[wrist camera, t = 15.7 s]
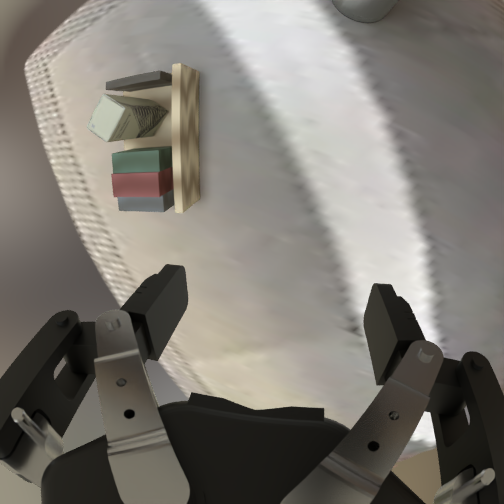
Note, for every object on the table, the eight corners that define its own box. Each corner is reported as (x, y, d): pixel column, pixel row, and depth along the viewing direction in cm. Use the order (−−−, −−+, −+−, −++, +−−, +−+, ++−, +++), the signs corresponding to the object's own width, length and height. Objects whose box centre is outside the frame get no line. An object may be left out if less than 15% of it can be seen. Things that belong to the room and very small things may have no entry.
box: (153, 137, 40) (106, 146, 29) (134, 124, 40) (84, 129, 28) (170, 109, 38) (125, 108, 27) (150, 96, 37) (101, 92, 26)
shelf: (128, 82, 38) (98, 78, 30) (199, 71, 36) (177, 61, 29) (132, 197, 47) (105, 212, 39) (199, 199, 45) (180, 215, 38)
